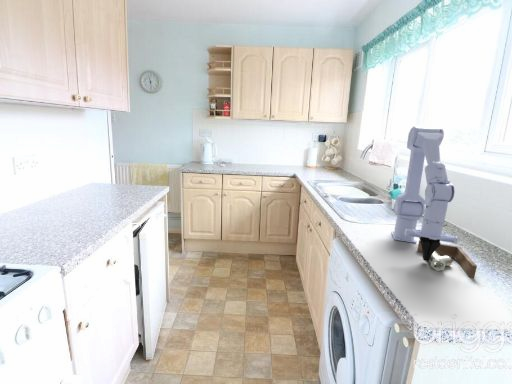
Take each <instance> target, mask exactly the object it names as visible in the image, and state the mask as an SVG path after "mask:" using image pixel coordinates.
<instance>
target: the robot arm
mask: <svg viewBox="0 0 512 384" xmlns="http://www.w3.org/2000/svg"><path fill="white" fill-rule="evenodd" d="M444 135H445V132H444V130H443V128H442V127H440V126H438V127H432V126H431V127H429V126H416V125H413V126H412V127H411V128H410V130H409V132H408V136H407V144H406V147H407V149H409V150H410V156H409V163H408V168H407V169H408V170H407V176H406V183H405V187H404V188H405V189H404V192H401V193H400V194H398V195H397V196H396V198H395V201H394V205H393V213H394V215H395V216H396V220H395V224H394V230H392V231H391V235H392V238H393V240H394V241H401V242H406V243H414V244H416V243H417V240H416V238H418V239H419V240H420V242H421V245H422V251H423V253H422V260H423V261H424V262H430V261H429V259H430V257H431V255H432V254H433V253H434V251H435V250H436V249H437V248H438V247H439V246H440V244H442V243H441V242H445V243H446V242H447V243H452V244H455V245H457V244H458V239H459V238H458V237H457V235H451V234H447V233H443V228H444V224H445V220H446V216H447V210H448V206H449V203H451V202H452V201H453V200H454V197H455V185H454V184H453V183H452V182H451V180H449V179H448V175H447V169H446V165H445V164H444V163H442V162H441V153H440V146H441V144H442V141H443V140H444ZM425 160H426V163H427V165H425V164H424V163H425ZM424 165H425V167H424ZM423 168H424V169H423ZM423 171H424V173H425V179H426V187H425V189H424V197H422V196H421V195H420V189H421V184H422V183H421V182H422V177H423V176H422V175H423ZM420 218H422V224H421V229H417V225H418V221H419V220H420Z"/></svg>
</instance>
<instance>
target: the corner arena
mask: <svg viewBox="0 0 512 384" xmlns="http://www.w3.org/2000/svg"><path fill="white" fill-rule="evenodd" d="M417 244H418V245H417V250H416V251H417V252H418V253H422V254H423V251H422V245H421V242H420V239H419V240H418V243H417ZM435 251H436V252H437V253H438V254H439V255H440V256H449V257H450V258H451V259H452V258H453V259H455V261H456V262H457V263H458V264H459V266H460V267H461V269H462V270H463V271H464V272H465V274H466V275H467V277H469V278H471V279H475V278H476V277H475V276H476V273H477V267H478V265H477V264H476V263H475V262H474V261H473V260H472V259H471V257H469V255H468V254H467V253H466V252H465V250H464V249H463V248H462V247H461V246H458V245H453V244H447V243H446V244H445V243H441V244H440V246H439V247H438V248H437V249H436V250H435Z"/></svg>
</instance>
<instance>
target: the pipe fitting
mask: <svg viewBox="0 0 512 384" xmlns="http://www.w3.org/2000/svg"><path fill="white" fill-rule="evenodd" d="M428 262H429V263H430V267H431V268H432V269H433V270H435V271H437V272H441V271H444V270H445V268H446V267H450V266H451V265H452V264H453V259H452V257H449V256H440V255H439V254H438V253H437V252H436V251H434V253H433V254H432V255H431V257H430V259H429V261H428Z"/></svg>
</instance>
